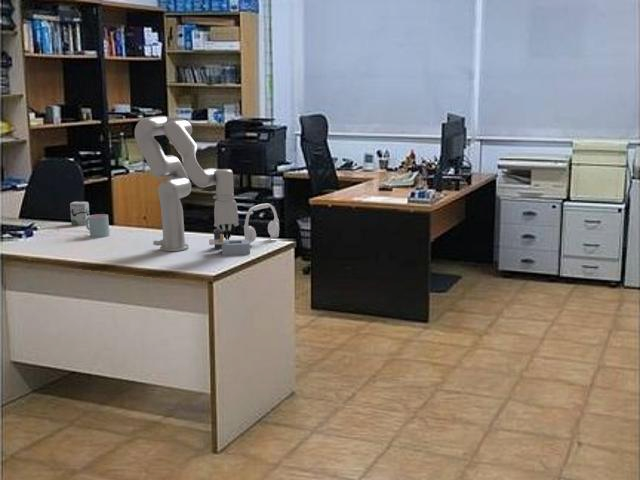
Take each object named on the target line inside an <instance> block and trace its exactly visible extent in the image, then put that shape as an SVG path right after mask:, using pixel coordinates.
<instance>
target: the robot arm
mask: <svg viewBox="0 0 640 480" xmlns="http://www.w3.org/2000/svg"><path fill="white" fill-rule="evenodd" d="M192 134H193V126H192V124H191V123H190V122H189V121H188V120H187V119H184V118H178V117H172V116H166V115H157V116H149V117H144V118H142V119H140V120H139V121H138V122H137V124H136V125H135V128H134V138H135V141H136V143H137V145H138V147H139V149H140V150H141V152H142V154H143V156H144V159H145V161H146V163H147V165H148V168H149V170H150V172H151V174H152V175H153V177H155V178H157V179H165V178H167V179H165V180H163V181H162V182H161V183H160V184H158V188H157V195H158V198H159V202H160V210H161V211H160V212H161V224H162V225H161V227H162V239H160V240H153V242H152V243H153V246H160V248H159V249H160V250H161V251H163V252H179V251H180V252H181V251H185V250H187V249H189V245H188V244H187V243H186V239H185V224H184V223H185V222H184V209H183V208H184V207H183V204H182V202H181V199H183V198H185V197H187V196H189V195H190V194H191V191H192V183H193V184H194V185H195V186H197V187H199V188H207V187H210V186H215V192H216V194H215V195H213V197H212V198H213V200H215V201H214V210H213V212H214V213H213V214H214V224H213V226H214V227H215V228H220V230H223V239H225V240H230V238H231V231H232V230H233V228H234V227H238V226H239V225H240V223H239V213H238V212H239V211H238V205H237V204H238V203H237V201H236V200H235V193H234V192H235V191H234V190H235V189H234V172H233V170H232V169H230V168H221V169H220V168H216V167H209V168H204V169H203V168H202V167H201V166H200V164H199V162H198V160H197V157H196V153H197V151H198V149H199V147H198V146H199V145H198V144H197V143H196V142H195V140H194V139H193V138H192V136H191V135H192ZM156 136H166V137H167V139H168V140H169V142H170V143H171V144H172V146H173V147H174V149H175V150H176V152H178V154H179V155H180V157H181V161H182V162H181V161H180V159H179V157H177V156H175V155H172V154H167V155H166V154H165V152H164V150H163V147H162V146H161V144H160V143H159V142H158V140H157V139H155V137H156ZM191 181H192V183H191ZM225 225H227V228H226V226H225Z"/></svg>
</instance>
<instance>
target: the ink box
mask: <svg viewBox="0 0 640 480" xmlns="http://www.w3.org/2000/svg"><path fill="white" fill-rule="evenodd" d="M69 206H70V207H69V208H70V209H69V211H70V221H71V224H70V225H72V226H86V219H87V218H88V217H89V216H90V204H89V202H88V201H73V202H70V203H69ZM88 225H89V220H88Z"/></svg>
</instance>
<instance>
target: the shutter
mask: <svg viewBox="0 0 640 480" xmlns="http://www.w3.org/2000/svg"><path fill="white" fill-rule="evenodd" d="M223 241H224V233H223V234H220V239H214V238H213V239H211V238H210V239H208V243H209V244H208V245H210V246H212V245H214V246H215V244H223Z"/></svg>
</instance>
